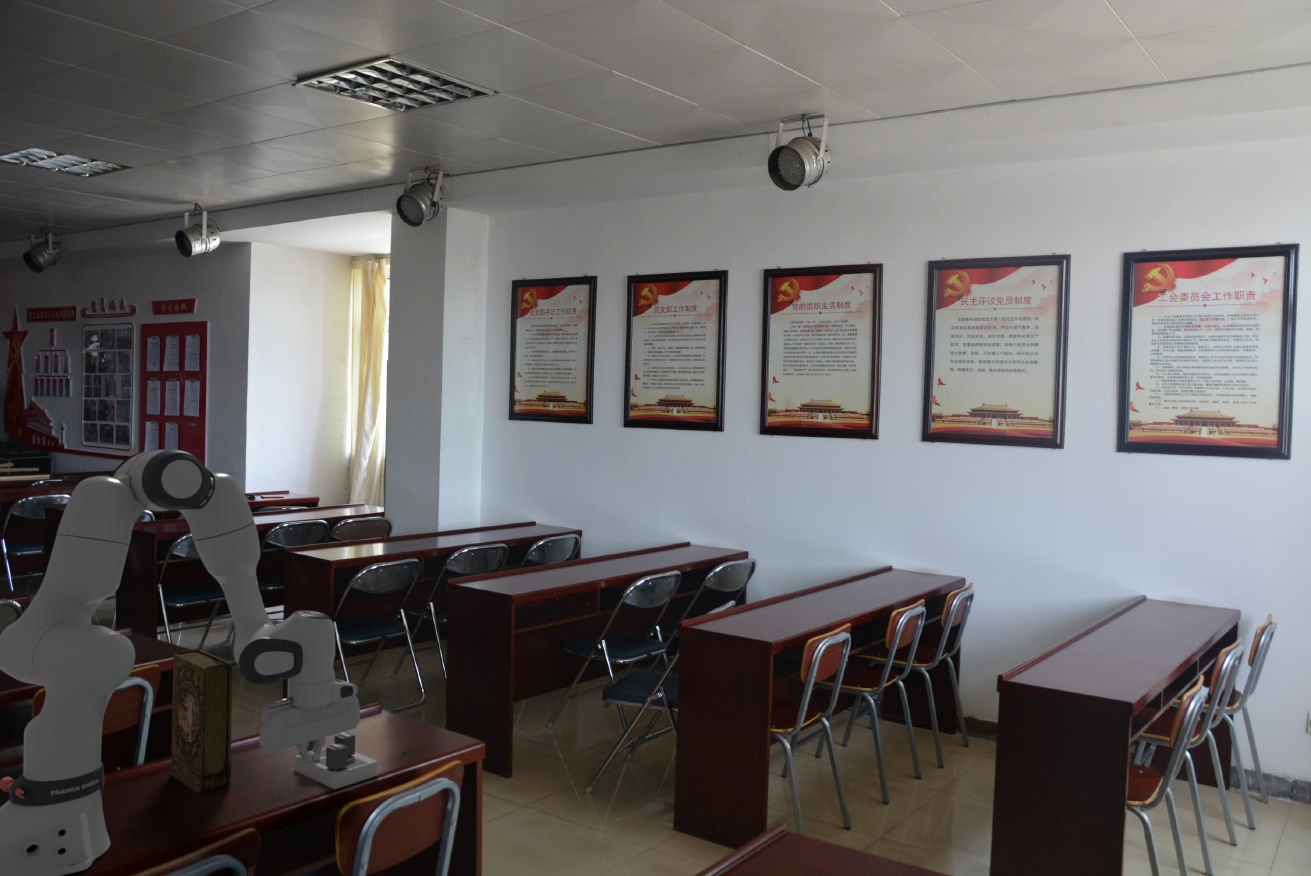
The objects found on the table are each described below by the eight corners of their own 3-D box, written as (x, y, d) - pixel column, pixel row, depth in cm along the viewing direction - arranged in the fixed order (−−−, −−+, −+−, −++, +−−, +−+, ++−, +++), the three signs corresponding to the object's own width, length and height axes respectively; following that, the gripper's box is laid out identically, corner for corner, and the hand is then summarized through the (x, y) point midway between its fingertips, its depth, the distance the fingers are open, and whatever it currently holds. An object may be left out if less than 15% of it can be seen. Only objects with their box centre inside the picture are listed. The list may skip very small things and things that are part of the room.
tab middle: (342, 757, 198) (342, 737, 198) (334, 754, 200) (334, 734, 200) (354, 754, 200) (355, 734, 200) (346, 750, 202) (347, 730, 202)
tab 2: (334, 770, 191) (334, 749, 191) (325, 766, 193) (326, 745, 193) (347, 766, 193) (347, 745, 193) (339, 762, 195) (339, 742, 195)
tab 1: (307, 758, 197) (307, 737, 197) (299, 754, 199) (299, 734, 199) (320, 754, 199) (320, 734, 199) (312, 751, 201) (312, 731, 201)
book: (168, 773, 196) (170, 652, 195) (195, 766, 200) (198, 648, 199) (201, 796, 185) (204, 668, 184) (230, 788, 189) (232, 663, 188)
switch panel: (334, 789, 190) (334, 773, 190) (294, 770, 199) (294, 755, 199) (377, 775, 197) (377, 760, 197) (336, 757, 207) (337, 743, 207)
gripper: (270, 707, 178) (269, 780, 179) (364, 684, 194) (363, 751, 195) (253, 700, 182) (252, 772, 183) (346, 678, 198) (346, 744, 198)
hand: (310, 761), depth 189 cm, fingers closed
